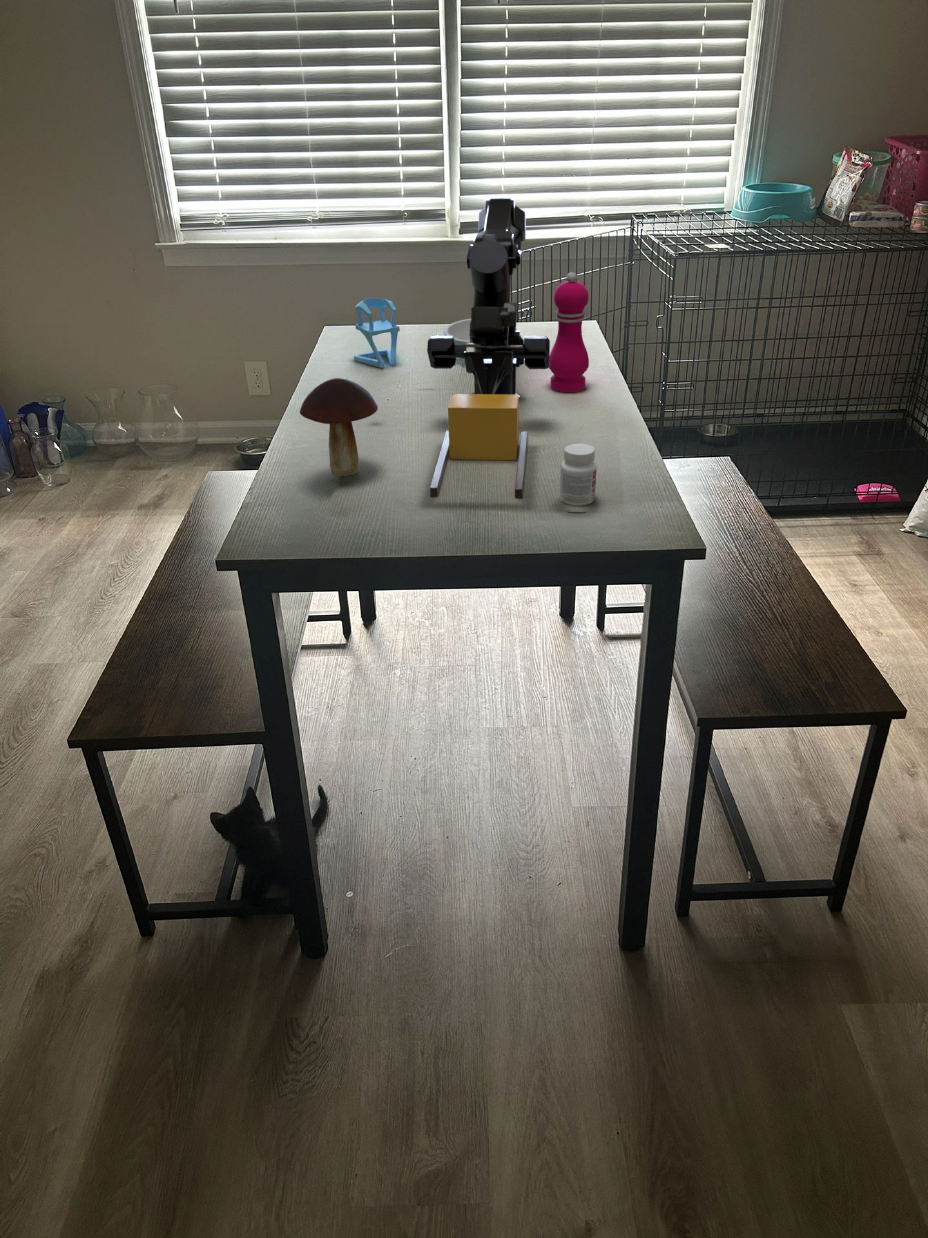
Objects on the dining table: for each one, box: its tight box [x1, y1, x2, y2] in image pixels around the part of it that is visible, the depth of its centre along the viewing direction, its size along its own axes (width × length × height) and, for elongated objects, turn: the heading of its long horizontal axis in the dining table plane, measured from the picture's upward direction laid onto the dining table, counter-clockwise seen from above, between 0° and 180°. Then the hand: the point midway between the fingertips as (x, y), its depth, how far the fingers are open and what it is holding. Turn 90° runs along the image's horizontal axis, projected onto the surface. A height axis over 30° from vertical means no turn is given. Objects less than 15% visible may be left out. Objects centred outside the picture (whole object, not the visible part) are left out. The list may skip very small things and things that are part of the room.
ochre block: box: [447, 393, 520, 461], centre depth 141 cm, size 6×10×8 cm, turn 85°
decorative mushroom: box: [299, 377, 379, 480], centre depth 135 cm, size 11×11×15 cm
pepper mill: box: [548, 271, 590, 393], centre depth 167 cm, size 7×7×20 cm
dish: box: [443, 318, 518, 345], centre depth 189 cm, size 18×14×5 cm
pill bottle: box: [559, 443, 598, 515], centre depth 127 cm, size 5×5×8 cm
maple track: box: [429, 430, 529, 499], centre depth 138 cm, size 22×14×3 cm, turn 175°
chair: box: [353, 296, 401, 369], centre depth 184 cm, size 8×8×12 cm
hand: (486, 402), depth 145 cm, fingers closed
